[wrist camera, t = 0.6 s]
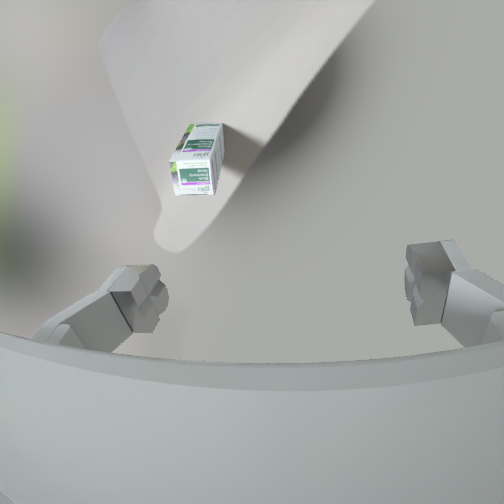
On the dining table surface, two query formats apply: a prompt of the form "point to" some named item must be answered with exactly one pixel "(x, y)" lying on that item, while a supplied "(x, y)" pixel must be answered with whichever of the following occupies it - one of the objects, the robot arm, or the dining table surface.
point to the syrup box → (198, 160)
